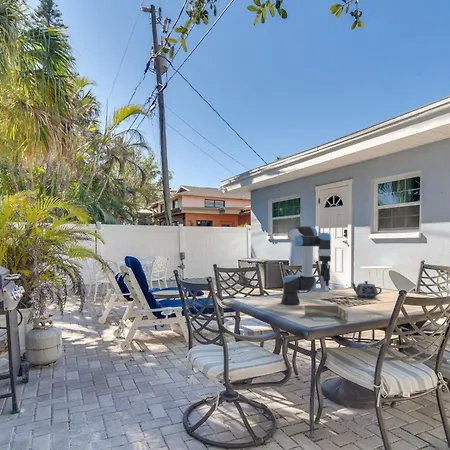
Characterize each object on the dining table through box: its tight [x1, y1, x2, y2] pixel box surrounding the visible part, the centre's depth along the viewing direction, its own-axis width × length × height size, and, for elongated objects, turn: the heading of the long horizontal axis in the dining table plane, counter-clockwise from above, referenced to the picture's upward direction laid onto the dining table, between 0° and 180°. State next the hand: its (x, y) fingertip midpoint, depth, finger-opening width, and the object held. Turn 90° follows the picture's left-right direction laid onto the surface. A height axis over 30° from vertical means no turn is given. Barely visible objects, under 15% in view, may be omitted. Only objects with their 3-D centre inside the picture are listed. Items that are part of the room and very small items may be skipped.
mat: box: [309, 316, 334, 322], centre depth 221 cm, size 10×13×1 cm
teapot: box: [350, 280, 383, 299], centre depth 308 cm, size 19×31×15 cm, turn 38°
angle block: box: [313, 276, 330, 293], centre depth 222 cm, size 9×6×10 cm, turn 90°
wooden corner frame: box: [304, 304, 349, 323], centre depth 224 cm, size 18×24×7 cm
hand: (325, 289), depth 221 cm, fingers closed on angle block, 6 cm apart
